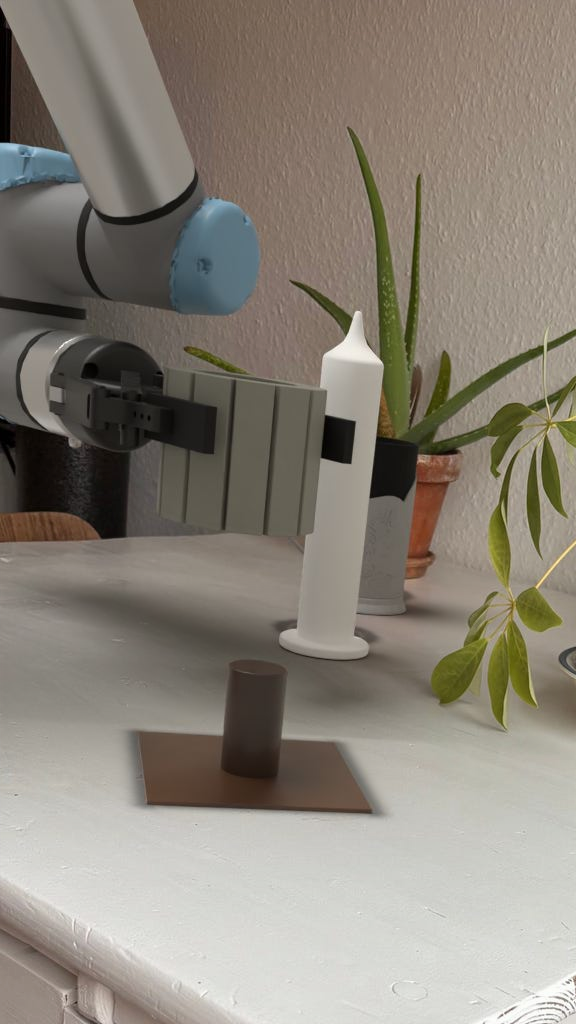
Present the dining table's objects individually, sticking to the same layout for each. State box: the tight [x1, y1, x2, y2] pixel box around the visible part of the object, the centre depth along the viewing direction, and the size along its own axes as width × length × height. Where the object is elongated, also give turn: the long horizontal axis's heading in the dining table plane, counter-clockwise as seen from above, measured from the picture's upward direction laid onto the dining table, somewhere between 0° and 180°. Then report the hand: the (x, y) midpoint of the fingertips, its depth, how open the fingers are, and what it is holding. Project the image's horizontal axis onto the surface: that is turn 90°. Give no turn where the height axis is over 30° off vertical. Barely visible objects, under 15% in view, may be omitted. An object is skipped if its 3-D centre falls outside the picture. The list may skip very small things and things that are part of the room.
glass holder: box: [286, 435, 420, 616], centre depth 117 cm, size 9×14×15 cm, turn 113°
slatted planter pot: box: [155, 364, 327, 538], centre depth 83 cm, size 10×10×9 cm
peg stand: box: [137, 659, 373, 814], centre depth 67 cm, size 11×11×7 cm
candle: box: [278, 310, 385, 661], centre depth 98 cm, size 7×7×25 cm
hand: (283, 436), depth 80 cm, fingers closed on slatted planter pot, 10 cm apart
